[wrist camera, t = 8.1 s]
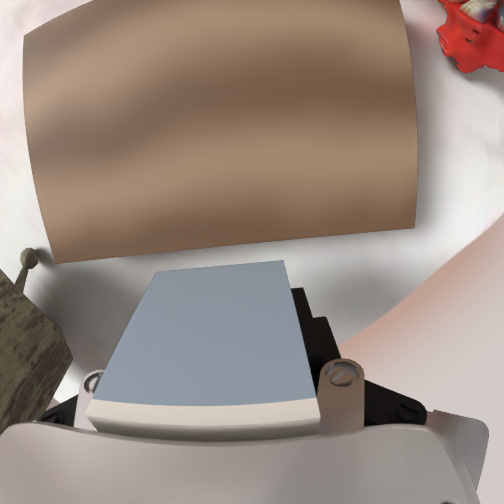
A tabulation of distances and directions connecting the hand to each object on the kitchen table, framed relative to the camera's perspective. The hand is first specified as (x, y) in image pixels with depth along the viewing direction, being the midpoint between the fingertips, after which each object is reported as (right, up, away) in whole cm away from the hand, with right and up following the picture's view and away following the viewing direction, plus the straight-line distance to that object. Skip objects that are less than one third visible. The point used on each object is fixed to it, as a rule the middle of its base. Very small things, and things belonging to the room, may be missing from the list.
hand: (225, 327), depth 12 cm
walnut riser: (-1, +11, +3) cm, 12 cm away
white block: (0, 0, +1) cm, 1 cm away
